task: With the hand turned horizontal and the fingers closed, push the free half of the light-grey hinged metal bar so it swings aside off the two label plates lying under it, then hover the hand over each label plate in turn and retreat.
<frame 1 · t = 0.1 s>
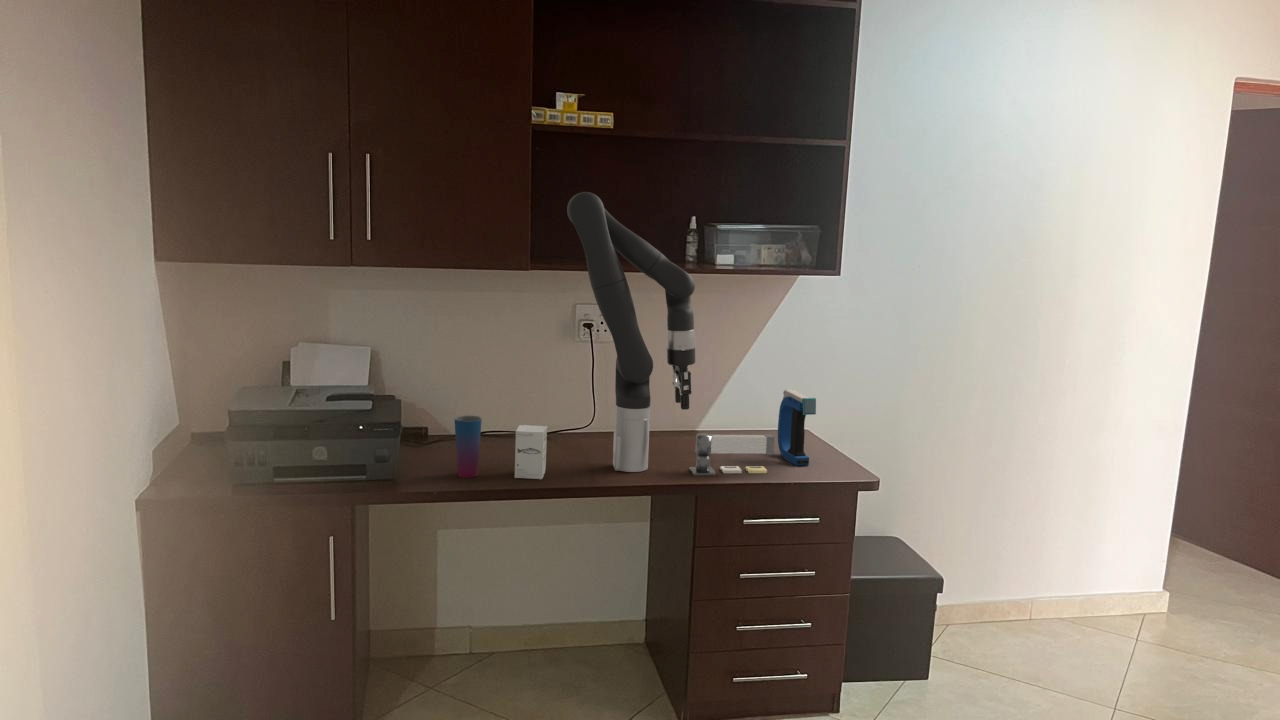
hand: (682, 405, 252), 17 cm above the table, tool pointing down, fingers open, 8 cm apart
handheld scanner: (794, 461, 267), on the table
supplement box: (530, 476, 242), on the table
hinge post: (702, 472, 251), on the table
cup: (467, 476, 240), on the table
label plate A: (730, 471, 253), on the table
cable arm: (734, 444, 251), point 8 cm above the table, hinge at 0.0°
label plate B: (756, 471, 254), on the table
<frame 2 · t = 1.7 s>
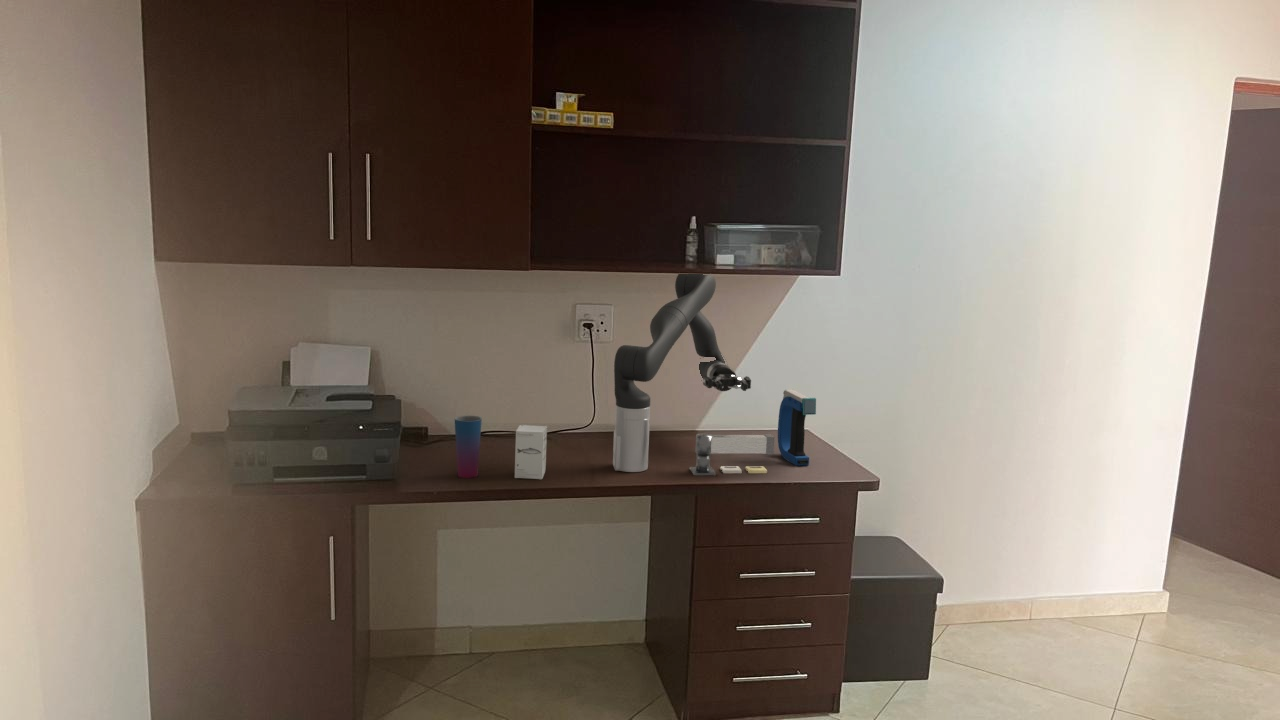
hand: (733, 387, 265), 20 cm above the table, tool horizontal, fingers open, 6 cm apart
nothing on the table moved.
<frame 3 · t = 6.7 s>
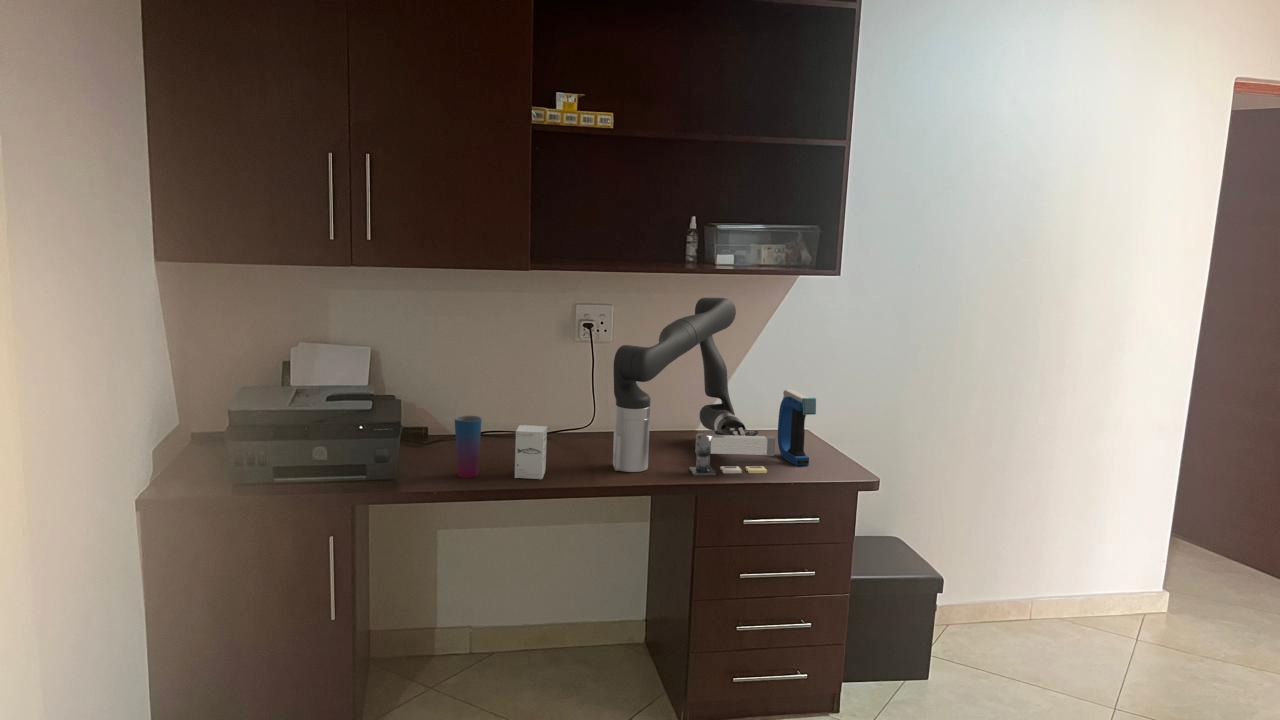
hand: (744, 443, 252), 8 cm above the table, tool horizontal, fingers closed
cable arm: (734, 444, 250), point 8 cm above the table, hinge at 4.9°, touching gripper
everything else where it was.
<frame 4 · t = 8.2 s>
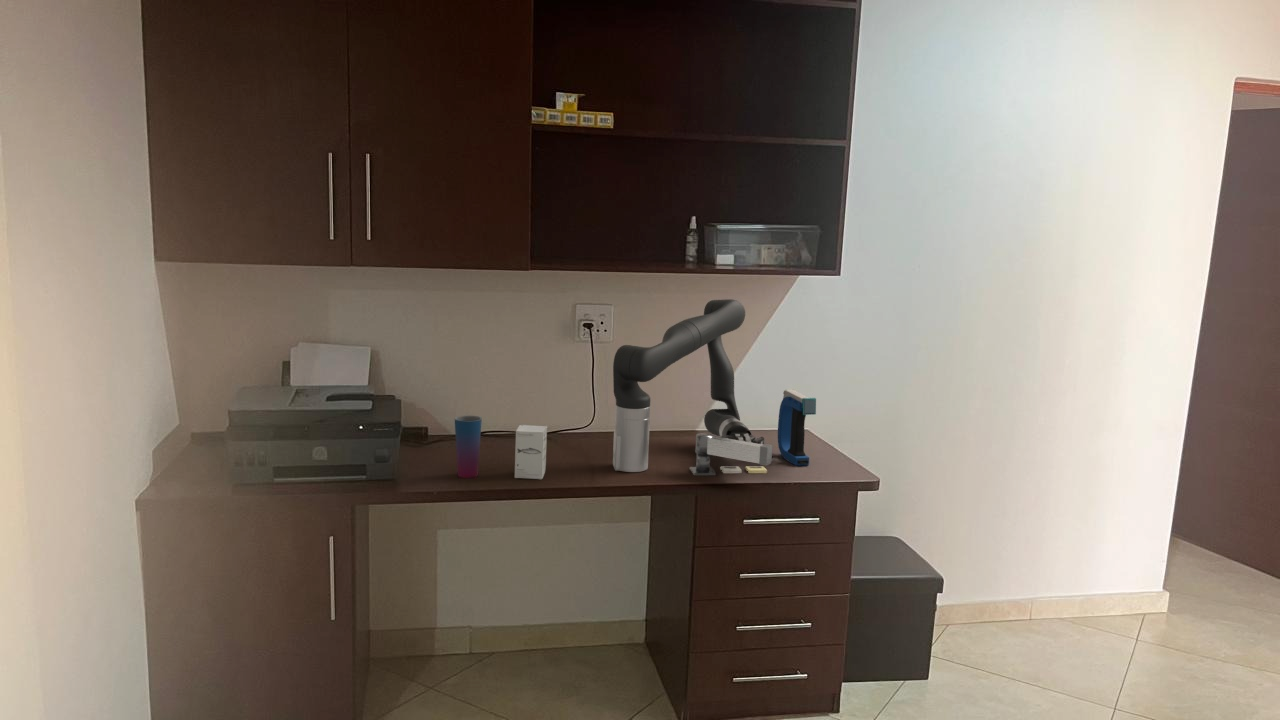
hand: (749, 450, 245), 8 cm above the table, tool horizontal, fingers closed
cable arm: (732, 448, 246), point 8 cm above the table, hinge at 37.7°, touching gripper
everything else where it was.
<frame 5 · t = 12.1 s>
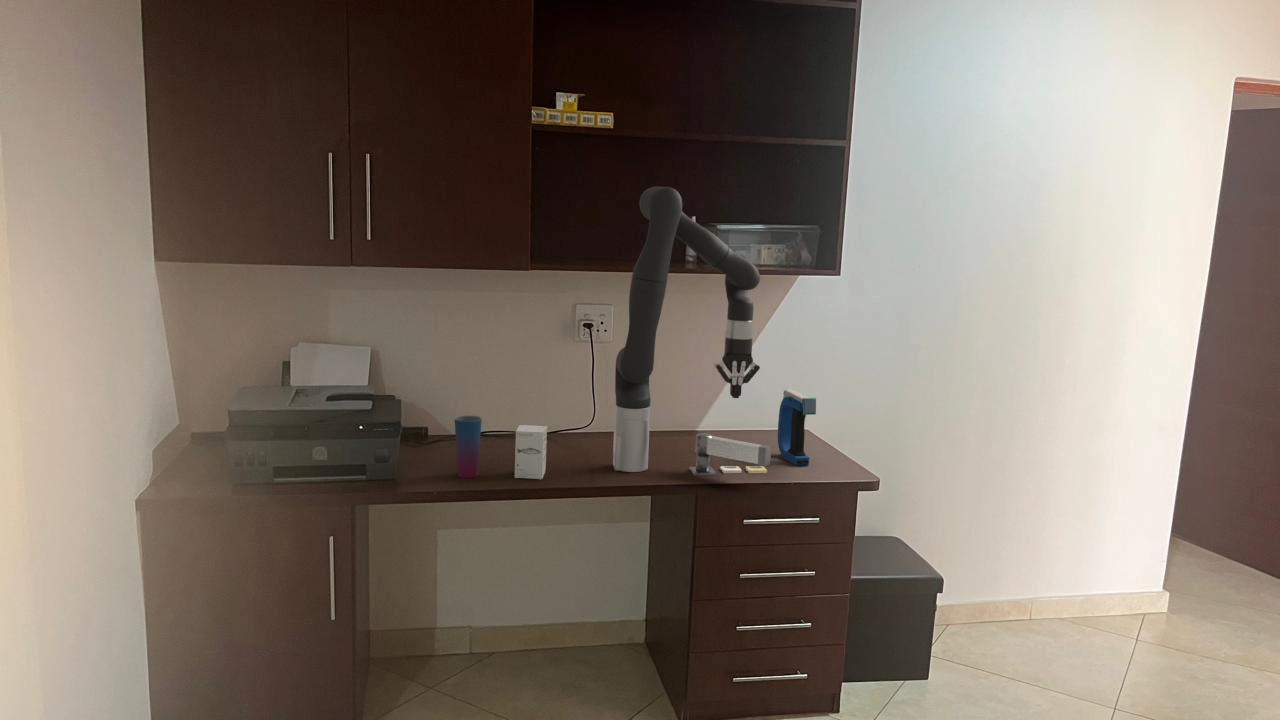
hand: (735, 397, 260), 18 cm above the table, tool pointing down, fingers closed
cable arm: (731, 449, 245), point 8 cm above the table, hinge at 40.1°
everything else where it was.
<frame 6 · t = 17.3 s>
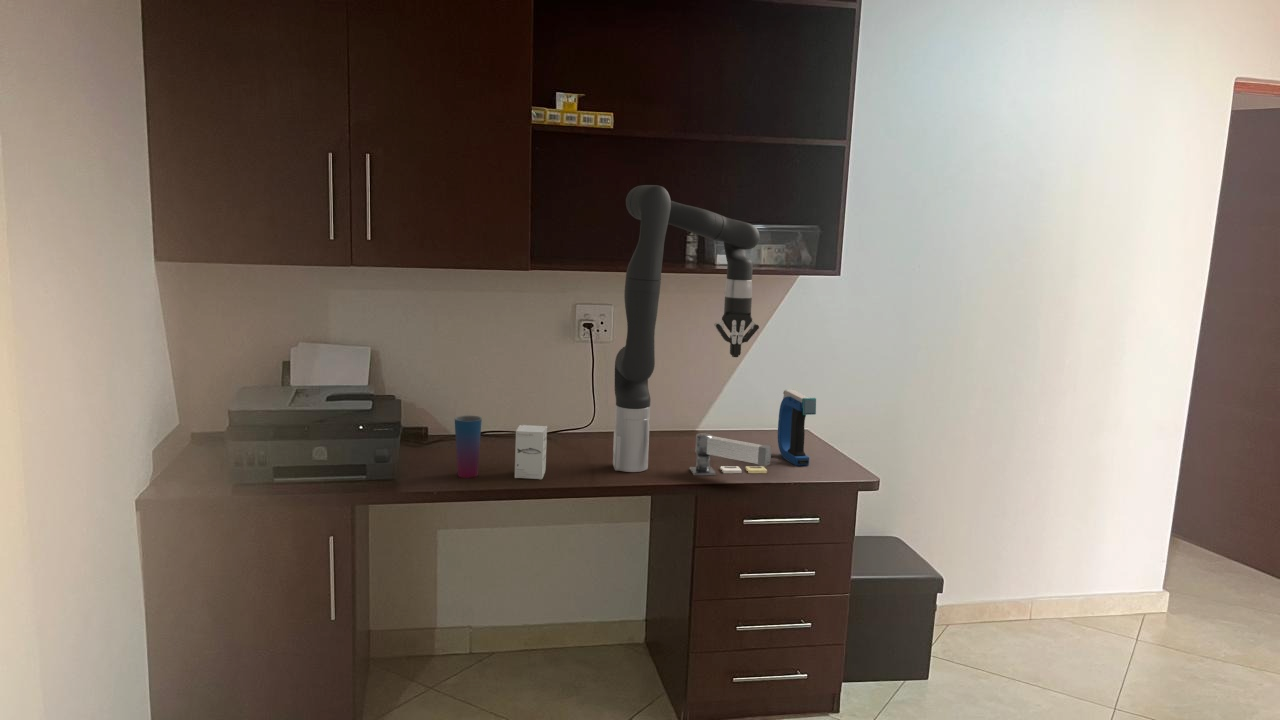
hand: (735, 356, 263), 29 cm above the table, tool pointing down, fingers closed
nothing on the table moved.
at the end: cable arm at +40° (first picture: +0°) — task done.
